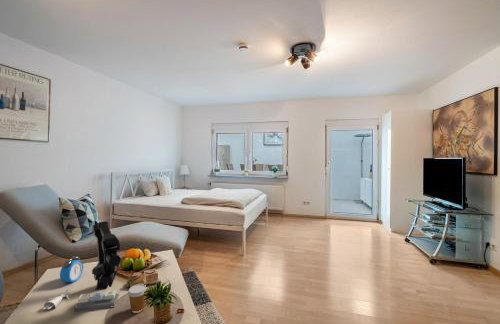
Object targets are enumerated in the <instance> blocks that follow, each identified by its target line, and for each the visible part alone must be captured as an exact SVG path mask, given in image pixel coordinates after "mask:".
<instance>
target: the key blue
mask: <svg viewBox="0 0 500 324" xmlns="http://www.w3.org/2000/svg"><path fill="white" fill-rule="evenodd" d="M103 295H104V291H100V292H98V291H97V292H94V293H93V294H92V295H91V297H92V301H98V300H101V299H102V297H103Z"/></svg>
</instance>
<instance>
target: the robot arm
mask: <svg viewBox="0 0 500 324" xmlns="http://www.w3.org/2000/svg"><path fill="white" fill-rule="evenodd" d="M91 231H92V233H93V236H94V237H95V238H96V248H97V261H98V262H97V264H96V265H95V266H94V267H93V268H92V270H91V274H92V275H93V279H94V282H95V281H96V286H95V289H94V290H95V291H97V290H105V289H108V288H109V287H112V286H113V284H114V281H115V279H116V276H117V273H118V270H117V269H119V268H120V267H121V261H122V258H121V257H120V255H119V254H118V251H120V248H121V244H120V241H119V240H120V239H119V238H118V237H117V236H116V234H113V233H112V232H111V229H110V225H109V222H108V221H99V222H97V223H95V224H94V225H93V224H92V226H91Z"/></svg>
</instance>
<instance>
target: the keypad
mask: <svg viewBox="0 0 500 324" xmlns="http://www.w3.org/2000/svg"><path fill="white" fill-rule="evenodd" d="M105 295H106V294H103V297H102V299H101V300H98V301H92V296H90V298H89V300H88V302H82V303H78V302H77V303H78V304H76V306H74V307H73V313H80V312H81V313H82V312H88V311H95V310H102V309H103V310H104V309H110V308H109V307H111V306H114V304H115V305H116V303H115V302H117V301H118V298H119V296H120V295H119V293H116V295H115V297H114V299H106V300H105ZM116 300H117V301H116ZM114 307H115V306H114ZM111 308H112V307H111Z"/></svg>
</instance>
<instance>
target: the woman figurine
mask: <svg viewBox="0 0 500 324" xmlns="http://www.w3.org/2000/svg"><path fill="white" fill-rule="evenodd" d="M70 293H71V290H70V289H66V290H65V291H64V292H61V294H60V295H58V296H54V297H51V298H48V299H47V300H48V301H47V302H45V303H44V304H43V306H42V310H50V309H52V308H53V307H54V308H53V309H54V310H56V308H57V306H59V304H60V303H61V302H62V300H63V298H66V299H67V300H70V298H69V295H70Z"/></svg>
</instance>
